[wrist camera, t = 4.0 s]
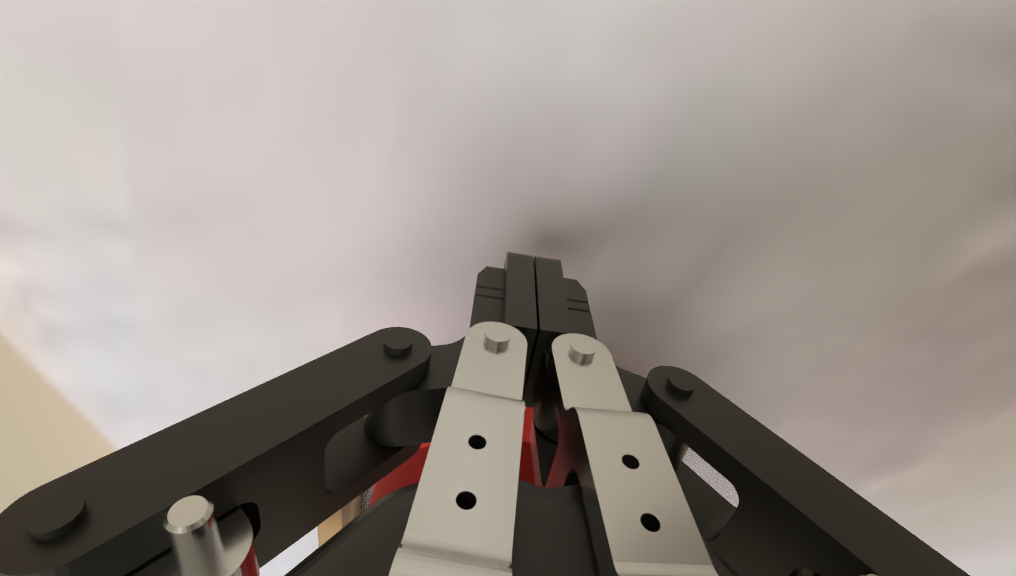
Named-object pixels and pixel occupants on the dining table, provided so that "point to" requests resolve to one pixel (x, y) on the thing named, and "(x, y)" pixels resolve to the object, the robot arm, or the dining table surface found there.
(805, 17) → the dining table surface
